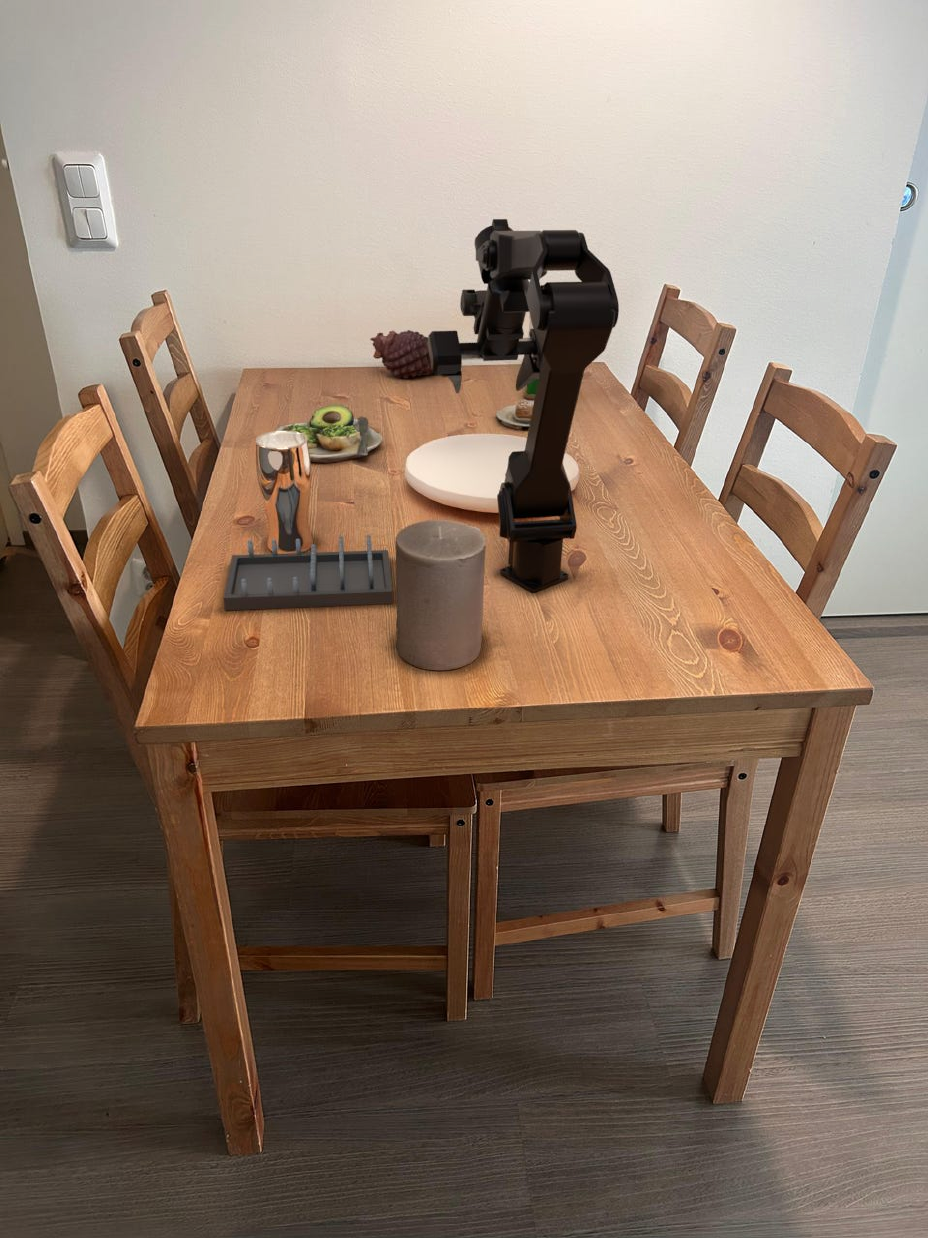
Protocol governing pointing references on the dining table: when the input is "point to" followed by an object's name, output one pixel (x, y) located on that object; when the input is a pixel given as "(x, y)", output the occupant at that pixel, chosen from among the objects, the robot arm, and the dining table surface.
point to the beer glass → (285, 488)
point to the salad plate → (336, 435)
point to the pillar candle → (439, 593)
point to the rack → (308, 578)
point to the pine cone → (403, 353)
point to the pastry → (517, 413)
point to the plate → (469, 469)
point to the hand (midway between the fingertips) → (487, 389)
